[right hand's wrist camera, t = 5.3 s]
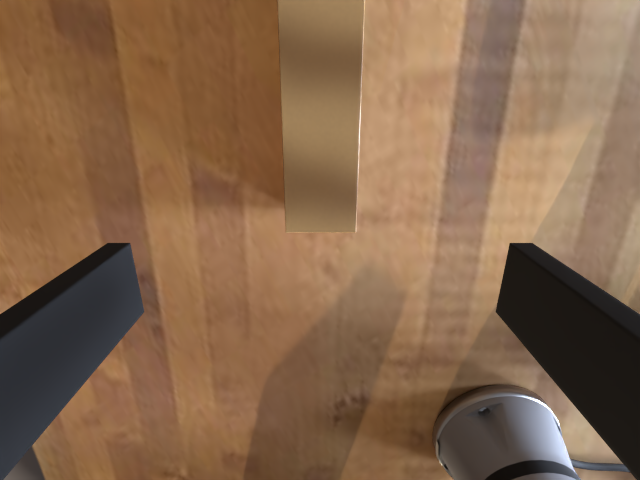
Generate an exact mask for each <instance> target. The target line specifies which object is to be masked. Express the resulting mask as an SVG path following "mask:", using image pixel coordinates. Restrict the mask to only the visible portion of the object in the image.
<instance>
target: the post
mask: <svg viewBox="0 0 640 480" xmlns="http://www.w3.org/2000/svg"><path fill="white" fill-rule="evenodd" d="M277 2H278V30H279V57H280V85H281V113H282V141H283V168H284V196H285V224H286V233H356V218H357V191H358V165H359V139H360V113H361V86H362V60H363V34H364V7H365V0H277Z"/></svg>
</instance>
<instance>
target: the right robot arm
mask: <svg viewBox="0 0 640 480" xmlns="http://www.w3.org/2000/svg"><path fill="white" fill-rule="evenodd" d="M143 313H144V308H143V303H142V299H141V294H140V289H139V284H138V279H137V274H136V269H135V265H134V260H133V255H132V250H131V245H130V243H107V244H106V245H104V246H103V247H101V248H100V249H98V250H97V251H95V252H94V253H92V254H91V255H89V256H88V257H86V258H85V259H83V260H82V261H80V262H79V263H77V264H76V265H74V266H73V267H71V268H70V269H68V270H67V271H65V272H64V273H62V274H61V275H59V276H58V277H56V278H55V279H53V280H51V281H50V282H48V283H47V284H45V285H44V286H42V287H41V288H39V289H38V290H36V291H35V292H33V293H32V294H30V295H29V296H27V297H26V298H24V299H23V300H21V301H20V302H18V303H17V304H15V305H14V306H12V307H11V308H9V309H8V310H6V311H5V312H3V313H2V314H0V480H3V479H4V478H5V477H6V476H7V475H8V473H9V472H10V471H11V470H12V468H13V467H14V466H15V465H16V464H17V463H18V461H19V460H20V459H21V458H22V457H23V456H24V454H25V453H26V452H27V451H28V450H29V448H30V447H31V446H32V445H33V444H34V442H35V441H36V440H37V439H38V438H39V436H40V435H41V434H42V433H43V432H44V430H45V429H46V428H47V427H48V426H49V425H50V423H51V422H52V421H53V420H54V419H55V417H56V416H57V415H58V414H59V413H60V411H61V410H62V409H63V408H64V407H65V405H66V404H67V403H68V402H69V401H70V400H71V398H72V397H73V396H74V395H75V394H76V392H77V391H78V390H79V389H80V388H81V386H82V385H83V384H84V383H85V382H86V380H87V379H88V378H89V377H90V376H91V375H92V373H93V372H94V371H95V370H96V369H97V367H98V366H99V365H100V364H101V363H102V361H103V360H104V359H105V358H106V357H107V355H108V354H109V353H110V352H111V351H112V350H113V348H114V347H115V346H116V345H117V344H118V342H119V341H120V340H121V339H122V338H123V336H124V335H125V334H126V333H127V332H128V330H129V329H130V328H131V327H132V326H133V325H134V323H135V322H136V321H137V320H138V319H139V317H140V316H141V315H142V314H143ZM496 313H497V314H498V315H499V316H500V317H501V319H502V320H503V321H504V322H505V323H506V325H507V326H508V327H509V328H510V329H511V330H512V332H513V333H514V334H515V335H516V336H517V338H518V339H519V340H520V341H521V342H522V344H523V345H524V346H525V347H526V348H527V350H528V351H529V352H530V353H531V354H532V355H533V357H534V358H535V359H536V360H537V361H538V363H539V364H540V365H541V366H542V367H543V369H544V370H545V371H546V372H547V373H548V375H549V376H550V377H551V378H552V379H553V380H554V382H555V383H556V384H557V385H558V386H559V388H560V389H561V390H562V391H563V392H564V394H565V395H566V396H567V397H568V398H569V400H570V401H571V402H572V403H573V404H574V405H575V407H576V408H577V409H578V410H579V411H580V413H581V414H582V415H583V416H584V417H585V419H586V420H587V421H588V422H589V423H590V425H591V426H592V427H593V428H594V429H595V431H596V432H597V433H598V434H599V435H600V436H601V438H602V439H603V440H604V441H605V442H606V444H607V445H608V446H609V447H610V448H611V450H612V451H613V452H614V453H615V454H616V456H617V457H618V458H619V459H620V460H621V461H622V463H623V464H605V463H588V462H582V461H577V460H573V459H570V458H569V455H568V452H567V450H566V447H565V444H564V442H563V439H562V433H561V429H560V426H559V422H558V420H557V418H556V416H555V415H554V413H553V412H552V411H551V409H550V408H549V407H548V405H547V404H546V403H545V402H544V400H543V399H542V398H540V397H539V396H538V395H537V394H535V393H533V392H532V391H530V390H527V389H525V388H521V387H517V386H511V385H493V386H486V387H482V388H478V389H475V390H472V391H470V392H467V393H465V394H463V395H461V396H460V397H458V398H457V399H455V400H454V401H452V402H451V403H450V404H449V405H448V406H447V407H446V408H445V409H444V410H443V411H442V412H441V414H440V415H439V417H438V418H437V420H436V422H435V425H434V429H433V443H434V447H435V450H436V456H437V459H439V461H440V463H441V465H442V466H443V467H444V469H445V470H446V471H447V473H448V474H449V475H450V476H451V477H452V478H453V479H454V480H581V479H580V478H579V477H578V475H577V474H576V472H575V471H574V469H573V467H576V468H581V469H588V470H599V471H624V472H631V473H632V475H633V476H634V477H635V478H636V479H637V480H640V314H638V313H637V312H635V311H634V310H632V309H631V308H629V307H628V306H626V305H625V304H623V303H622V302H620V301H619V300H617V299H616V298H614V297H613V296H611V295H610V294H608V293H607V292H605V291H604V290H602V289H601V288H599V287H598V286H596V285H595V284H593V283H592V282H590V281H589V280H587V279H585V278H584V277H582V276H581V275H579V274H578V273H576V272H575V271H573V270H572V269H570V268H569V267H567V266H566V265H564V264H563V263H561V262H560V261H558V260H557V259H555V258H554V257H552V256H551V255H549V254H548V253H546V252H545V251H543V250H542V249H540V248H539V247H537V246H536V245H534V244H533V243H510V245H509V250H508V255H507V260H506V265H505V269H504V274H503V279H502V284H501V289H500V294H499V299H498V303H497V308H496Z"/></svg>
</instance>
